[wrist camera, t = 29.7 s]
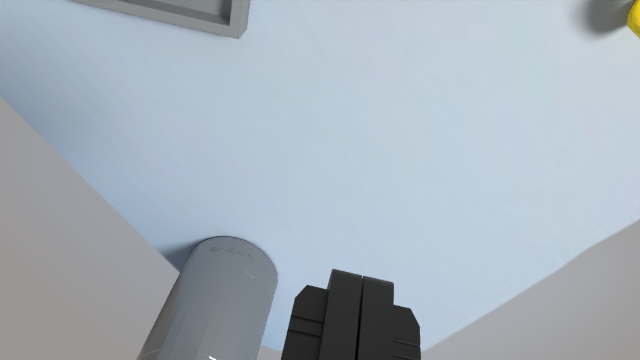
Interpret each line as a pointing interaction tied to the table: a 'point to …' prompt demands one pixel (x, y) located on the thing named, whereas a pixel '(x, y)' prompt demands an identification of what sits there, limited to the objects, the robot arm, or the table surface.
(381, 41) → the table surface
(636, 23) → the watch
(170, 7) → the tray
